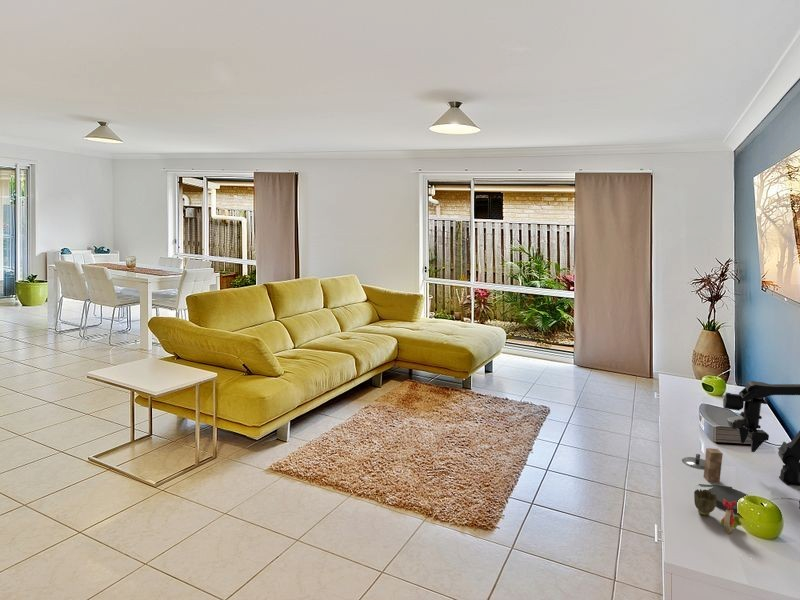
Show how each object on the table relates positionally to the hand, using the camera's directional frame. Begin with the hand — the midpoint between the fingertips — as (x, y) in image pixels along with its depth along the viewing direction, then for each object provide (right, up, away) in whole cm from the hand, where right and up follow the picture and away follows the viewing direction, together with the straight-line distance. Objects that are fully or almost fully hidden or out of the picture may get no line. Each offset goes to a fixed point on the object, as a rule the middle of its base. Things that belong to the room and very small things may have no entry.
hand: (747, 447), depth 224 cm
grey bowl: (-16, -11, +9) cm, 21 cm away
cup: (-36, -16, -30) cm, 49 cm away
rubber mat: (-18, -13, -5) cm, 23 cm away
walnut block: (-18, -12, -5) cm, 23 cm away
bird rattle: (-32, -18, -39) cm, 54 cm away
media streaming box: (-20, -16, -21) cm, 33 cm away
